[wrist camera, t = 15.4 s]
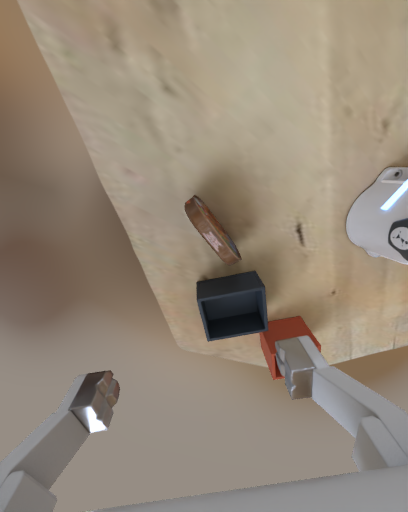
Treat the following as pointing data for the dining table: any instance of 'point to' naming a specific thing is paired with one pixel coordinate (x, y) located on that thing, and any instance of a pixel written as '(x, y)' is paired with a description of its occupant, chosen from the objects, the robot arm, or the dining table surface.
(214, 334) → the slate bin
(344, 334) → the dining table surface
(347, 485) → the robot arm
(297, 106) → the dining table surface
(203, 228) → the tin
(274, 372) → the terracotta bin
